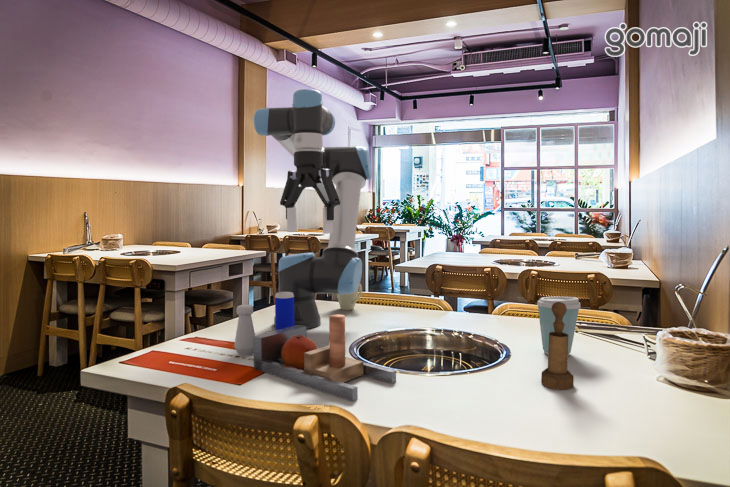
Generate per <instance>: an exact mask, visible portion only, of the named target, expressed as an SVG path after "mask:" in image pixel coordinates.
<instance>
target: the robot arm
mask: <svg viewBox="0 0 730 487" xmlns="http://www.w3.org/2000/svg"><path fill="white" fill-rule="evenodd" d="M323 104H324V101H323V95H322V92H321V91H319V90H317V89H311V88H308V89H307V88H305V89H302V88H301V89H298V90H296V91H294V93H293V94H292V106H291V107H290V106H289V107H287V106H286V107H285V106H284V107H266V108H265V107H264V108H259V109H257V110H256V111H255V112H254V115H253V126H254V129H255V132H256V133H257V135H259V136H266V137H268V136H271V137H272V138H273V139H275V141H276V142H278V143H279V144H280V145H281V146H282V147H283V148H284V150H286V151H287V152H288V153H289V154H290V155H291V156H292V157H293V166H294V167H296V168H295V169H296V171H295V170H288V171H287V177H286V178H287V179H286V183H285V185H284V189H283V192H282V195H281V198H280V202H279V205H280V206H283V207H284V208H285V218H286V219H285V220H286V223H287V224H286V225H287V226H286V230H287V233H294V232H296V233H297V225H298V224H297V207H296V203H297V202H298V200H299V198H300V196H301V195H302V192H303V191H304V190H305V189H306V188H313V189H314V190H315V192H316V194H317V196H318V197H319V198H320V200H321V202H322V204H323V207H322V234H324V235H326V234H329V236H328V238H329V239H328V245H327V247H325V248H324V249H323V250H322V255H321V256H320V257H318V256H316V255H315V253H314V252H304V253H303V252H302V253H295V254H294V253H293V254H289V255H284V256H282V257H281V258H280V259H279V260H278V270H277V272H278V273H277V274H278V292H292V293H293V295H294V326H295V325H302V326H306V328H307V330H308V329H312V328H316V327H318V326H320V325H321V323H322V322H321V314H320V313H319V309H318V306H317V303H316V294H322V295H323V294H324V295H325V294H329V295H337V294H340V295H343V294H352V293H354V292H355V291H356V290H357V289H358V290H359V284H361V279H362V274H363V261H362V259H361V258H359V254H358V252H357V251H356V250H355V246H356V245H355V243H356V235H357V233H356V232H357V226H358V216H359V209H360V207H359V206H360V199H361V198H360V197H361V189H363V188H365V186H366V184H367V181H369V180H371V179H372V175H373V174H372V173H373V172H372V170H373V169H372V162H371V155H370V153H369V149H368V148H367V147H365V146H357V145H354V146H326V147H325V146H324V145H323V144H324V143H323V136H326V135H327V136H328V135H329V134H331V133H332V131H334V128H335V126H336V119H335V115H334V114H333V112H332V111H331V110H330V109H329V108H326V107H325V106H323ZM273 326H274V328H276V326H275V316H274V318H273Z"/></svg>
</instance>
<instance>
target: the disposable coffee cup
mask: <svg viewBox="0 0 730 487" xmlns="http://www.w3.org/2000/svg"><path fill="white" fill-rule="evenodd" d="M556 302H562V303H564V304H565V305H566V308H567V311H566V313H565V315H564V316H563V319H562V321H563V323H564V324H565V325H564V329H563V332H562V333H566V334H568V357H569V356H570V354H571V352H572V348H573V342H574V336H575V332H576V331H575V330H576V326H577V321H578V316H579V311H580V309H581V307H582V306H581V302H579V297H576V296H544V297H543V296H542V297H540V298H539V300H537V304H536V305H537V308H538V309H537V310H538V317H539V326H540V334H541V335H540V336H541V344H542V350H543V353H544V354H545V355H547V356H548V353H549V333H550V332H555V330H554V326H553V323H554V322H555V316H554V314H553V312H552V305H553V304H554V303H556Z"/></svg>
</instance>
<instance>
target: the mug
mask: <svg viewBox="0 0 730 487" xmlns="http://www.w3.org/2000/svg"><path fill="white" fill-rule="evenodd" d="M362 293H363V286H362V284H361V283H360V284H359V287H358V289H357V290H356V291H355V292H354V293H352V294H343V295H340V294H336V298H337V300H338V304H339V307H340V309H341V310H343V311H352V310H354V309H355V306H356V303H357V302H358V301H359V299H360V298H362ZM351 309H352V310H351Z"/></svg>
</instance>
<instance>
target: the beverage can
mask: <svg viewBox="0 0 730 487" xmlns="http://www.w3.org/2000/svg"><path fill="white" fill-rule="evenodd" d="M274 315H275V316H274V317H275V326H276V327H275V326H274V327H275V330H279V329H283V328H287V327H291V326H294V295H293V293H292V292H279V291H278V292H276V293H275V296H274Z"/></svg>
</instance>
